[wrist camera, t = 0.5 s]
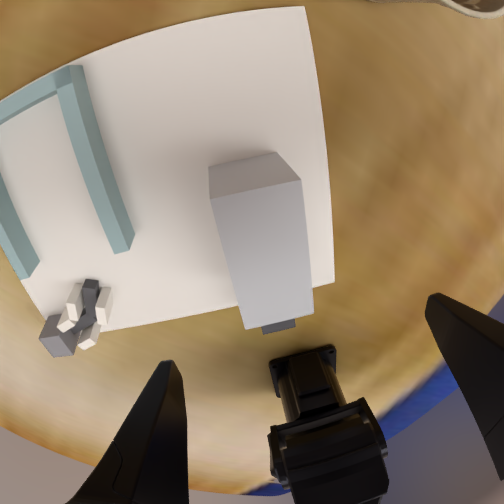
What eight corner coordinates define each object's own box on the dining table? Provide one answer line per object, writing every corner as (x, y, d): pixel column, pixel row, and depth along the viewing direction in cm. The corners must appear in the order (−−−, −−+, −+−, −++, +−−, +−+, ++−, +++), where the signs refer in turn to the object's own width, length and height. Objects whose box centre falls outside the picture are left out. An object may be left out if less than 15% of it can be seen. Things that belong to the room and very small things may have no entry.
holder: (82, 65, 13) (68, 64, 11) (135, 234, 19) (129, 250, 17) (-26, 126, 13) (-43, 133, 11) (30, 264, 19) (20, 280, 17)
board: (331, 276, 24) (334, 282, 23) (61, 332, 23) (58, 338, 23) (300, 8, 14) (304, 5, 13) (-37, 129, 13) (-44, 132, 12)
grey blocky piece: (123, 324, 23) (117, 349, 20) (61, 334, 22) (53, 357, 20) (96, 276, 20) (86, 299, 18) (32, 291, 20) (20, 313, 18)
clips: (130, 323, 23) (126, 344, 21) (80, 331, 23) (74, 351, 21) (105, 276, 20) (97, 295, 18) (53, 288, 20) (43, 307, 18)
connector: (276, 151, 17) (301, 179, 13) (296, 292, 23) (315, 341, 19) (208, 166, 17) (209, 199, 13) (243, 305, 23) (253, 357, 19)
